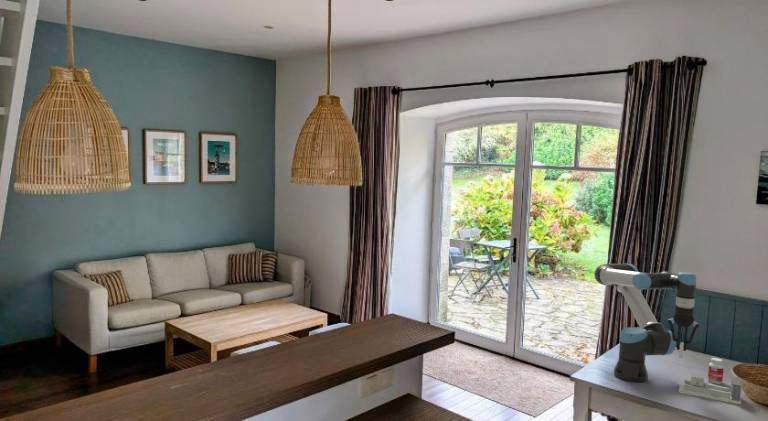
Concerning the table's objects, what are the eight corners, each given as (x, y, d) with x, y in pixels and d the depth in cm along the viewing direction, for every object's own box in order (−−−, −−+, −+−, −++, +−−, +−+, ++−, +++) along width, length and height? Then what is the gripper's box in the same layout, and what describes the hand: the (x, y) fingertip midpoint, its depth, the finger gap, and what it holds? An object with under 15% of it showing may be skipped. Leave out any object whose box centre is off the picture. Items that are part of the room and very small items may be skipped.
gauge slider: (690, 391, 256) (691, 378, 256) (690, 386, 263) (691, 373, 262) (707, 394, 253) (708, 381, 253) (707, 389, 260) (708, 376, 259)
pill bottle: (708, 382, 272) (710, 360, 271) (706, 378, 278) (708, 356, 277) (723, 385, 269) (725, 362, 269) (721, 380, 275) (723, 358, 274)
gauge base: (678, 392, 259) (680, 374, 258) (679, 385, 267) (680, 368, 267) (740, 404, 247) (742, 386, 247) (739, 396, 256) (740, 378, 255)
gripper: (668, 306, 260) (664, 356, 261) (701, 310, 254) (696, 362, 255) (668, 302, 266) (665, 352, 268) (700, 306, 260) (696, 357, 262)
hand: (680, 357), depth 262 cm, fingers closed
